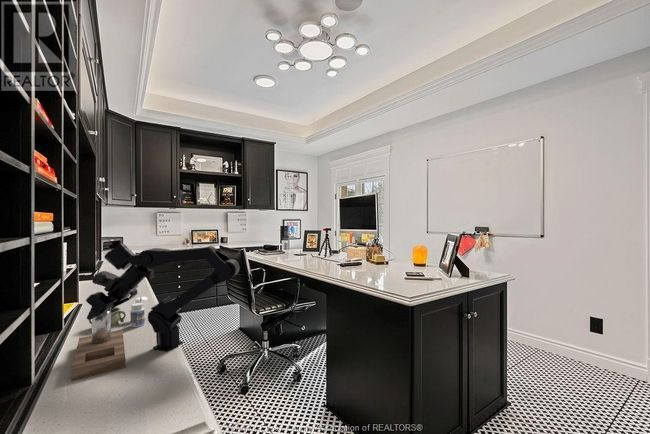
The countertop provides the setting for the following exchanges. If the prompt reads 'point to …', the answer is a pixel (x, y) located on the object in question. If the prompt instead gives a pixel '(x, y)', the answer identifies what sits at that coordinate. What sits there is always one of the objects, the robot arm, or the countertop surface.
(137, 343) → the countertop surface
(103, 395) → the countertop surface
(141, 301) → the white supplement bottle
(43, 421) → the countertop surface
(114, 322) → the vessel
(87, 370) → the plate
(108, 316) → the silver cylindrical piece
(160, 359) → the countertop surface
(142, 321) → the pill bottle
